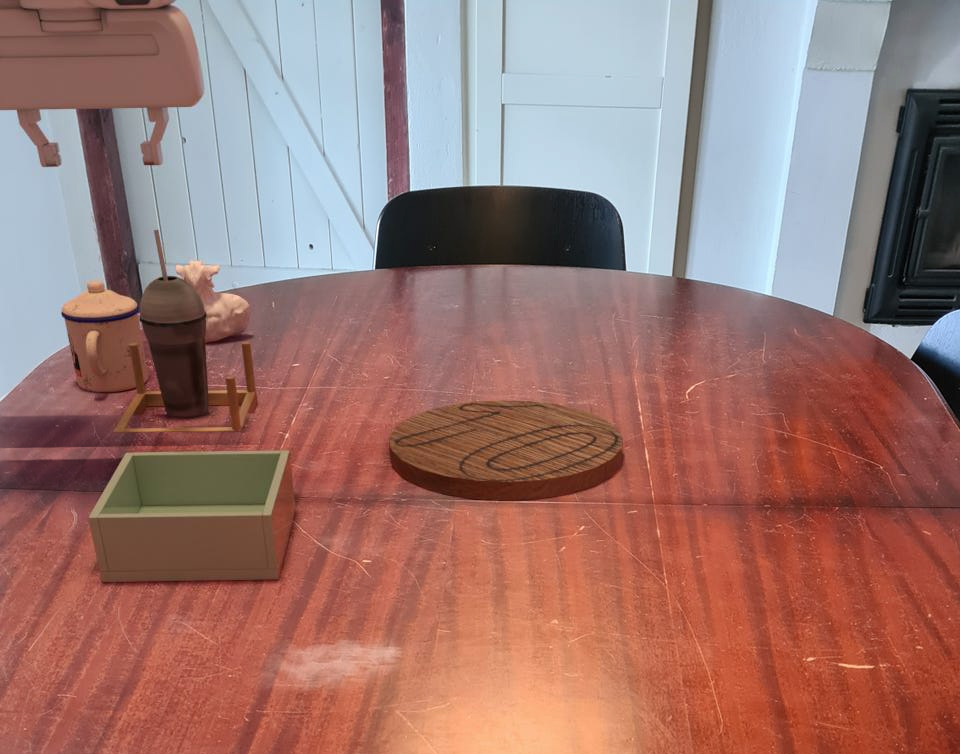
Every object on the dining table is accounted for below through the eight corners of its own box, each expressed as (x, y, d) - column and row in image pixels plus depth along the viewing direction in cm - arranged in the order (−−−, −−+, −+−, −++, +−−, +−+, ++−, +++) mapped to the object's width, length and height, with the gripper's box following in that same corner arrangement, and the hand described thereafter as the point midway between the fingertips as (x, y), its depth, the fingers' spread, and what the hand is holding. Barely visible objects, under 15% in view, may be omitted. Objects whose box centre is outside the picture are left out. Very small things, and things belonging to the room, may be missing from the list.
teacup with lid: (85, 371, 157) (66, 273, 150) (156, 370, 158) (140, 272, 150) (62, 402, 148) (40, 298, 141) (138, 401, 148) (119, 297, 141)
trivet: (341, 456, 133) (340, 439, 132) (502, 402, 147) (502, 386, 146) (509, 521, 119) (509, 502, 118) (669, 454, 133) (671, 436, 132)
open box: (101, 582, 109) (87, 517, 105) (136, 512, 121) (125, 452, 117) (278, 579, 109) (271, 514, 105) (295, 510, 121) (289, 450, 118)
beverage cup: (171, 437, 138) (140, 242, 126) (147, 420, 143) (114, 229, 130) (231, 425, 141) (206, 233, 129) (205, 408, 146) (179, 221, 134)
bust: (167, 356, 170) (144, 300, 159) (171, 309, 172) (149, 250, 161) (254, 356, 170) (237, 299, 159) (256, 308, 172) (240, 250, 161)
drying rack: (115, 445, 136) (103, 380, 132) (140, 403, 147) (129, 342, 143) (242, 443, 136) (234, 378, 132) (257, 402, 147) (250, 341, 143)
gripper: (-65, -14, 103) (-21, 173, 111) (179, -19, 102) (205, 169, 111) (-39, -19, 108) (1, 161, 116) (194, -23, 107) (217, 157, 116)
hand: (102, 165), depth 113 cm, fingers open, 8 cm apart
